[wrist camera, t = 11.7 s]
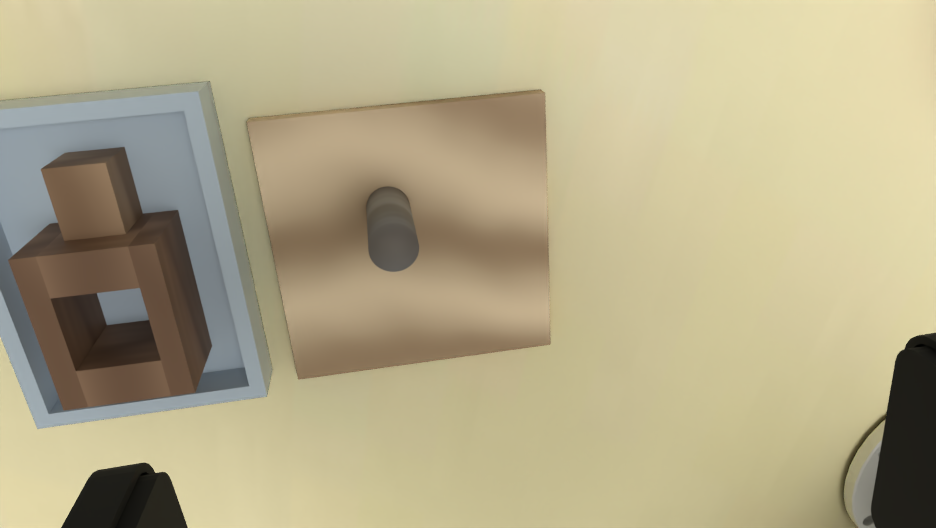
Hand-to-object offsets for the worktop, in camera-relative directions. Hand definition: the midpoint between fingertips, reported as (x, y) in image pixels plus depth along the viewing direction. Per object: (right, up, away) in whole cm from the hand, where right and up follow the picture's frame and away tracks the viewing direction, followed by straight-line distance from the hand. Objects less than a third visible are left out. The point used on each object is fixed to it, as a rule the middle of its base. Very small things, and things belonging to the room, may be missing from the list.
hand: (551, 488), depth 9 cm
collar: (-16, +3, +22) cm, 28 cm away
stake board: (-4, +4, +25) cm, 25 cm away
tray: (-17, +3, +23) cm, 28 cm away
